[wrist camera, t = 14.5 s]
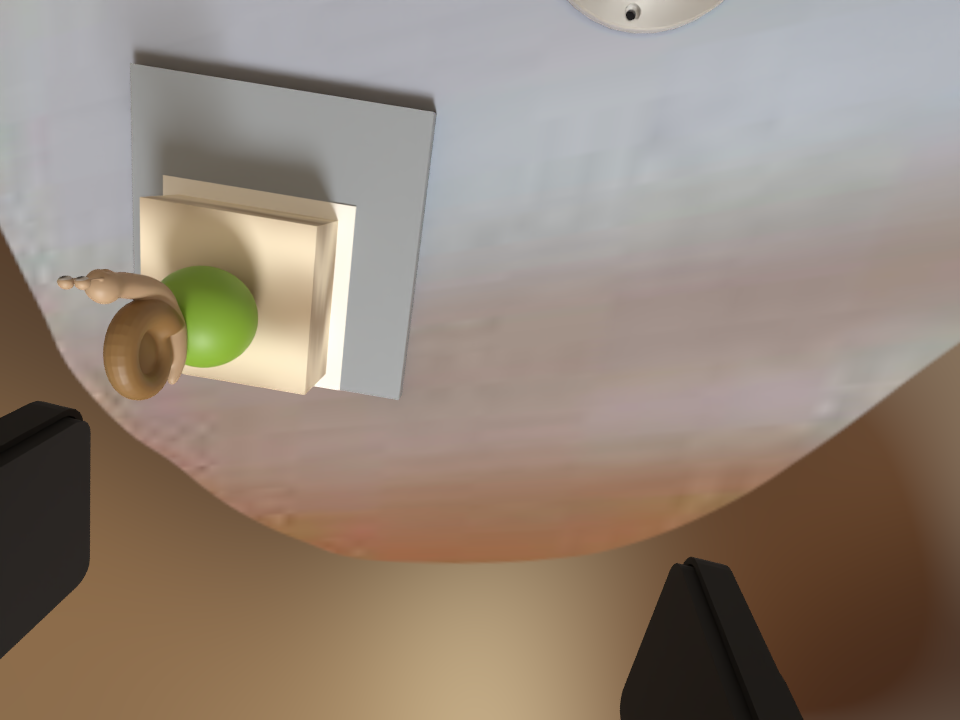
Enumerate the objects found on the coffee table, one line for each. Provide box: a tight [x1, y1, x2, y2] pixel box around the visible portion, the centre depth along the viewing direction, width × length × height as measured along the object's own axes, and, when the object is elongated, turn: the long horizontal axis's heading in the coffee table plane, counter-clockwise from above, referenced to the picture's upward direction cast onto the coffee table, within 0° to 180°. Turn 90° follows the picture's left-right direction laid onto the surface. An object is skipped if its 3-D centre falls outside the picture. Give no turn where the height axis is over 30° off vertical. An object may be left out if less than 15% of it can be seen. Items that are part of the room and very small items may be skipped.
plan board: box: [130, 63, 436, 400], centre depth 39 cm, size 18×18×1 cm
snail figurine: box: [57, 266, 258, 400], centre depth 29 cm, size 5×6×12 cm
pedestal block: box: [140, 194, 338, 395], centre depth 37 cm, size 10×10×4 cm
